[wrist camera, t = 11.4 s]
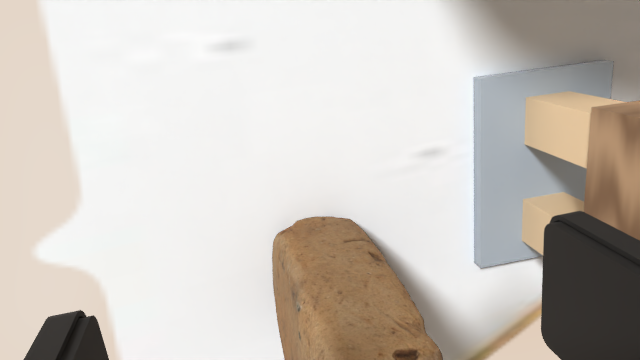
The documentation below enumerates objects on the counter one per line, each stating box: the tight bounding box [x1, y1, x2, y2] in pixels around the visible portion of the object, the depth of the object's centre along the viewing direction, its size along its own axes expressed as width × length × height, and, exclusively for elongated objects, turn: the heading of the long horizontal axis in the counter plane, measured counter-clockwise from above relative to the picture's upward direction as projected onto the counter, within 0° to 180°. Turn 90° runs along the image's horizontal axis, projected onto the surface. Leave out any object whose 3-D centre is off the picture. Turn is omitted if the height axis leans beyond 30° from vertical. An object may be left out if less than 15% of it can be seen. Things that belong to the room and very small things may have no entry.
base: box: [474, 60, 626, 268], centre depth 41 cm, size 17×12×9 cm
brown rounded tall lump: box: [272, 217, 443, 360], centre depth 35 cm, size 11×8×20 cm
